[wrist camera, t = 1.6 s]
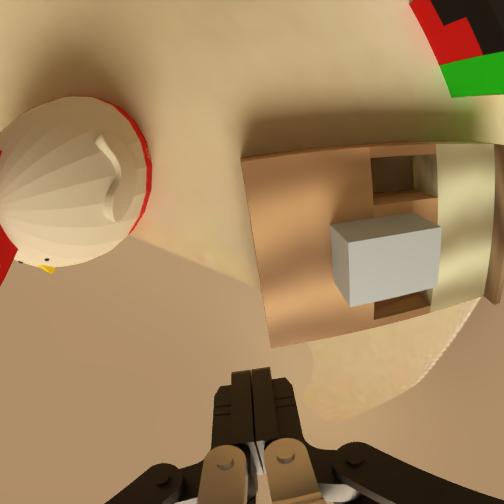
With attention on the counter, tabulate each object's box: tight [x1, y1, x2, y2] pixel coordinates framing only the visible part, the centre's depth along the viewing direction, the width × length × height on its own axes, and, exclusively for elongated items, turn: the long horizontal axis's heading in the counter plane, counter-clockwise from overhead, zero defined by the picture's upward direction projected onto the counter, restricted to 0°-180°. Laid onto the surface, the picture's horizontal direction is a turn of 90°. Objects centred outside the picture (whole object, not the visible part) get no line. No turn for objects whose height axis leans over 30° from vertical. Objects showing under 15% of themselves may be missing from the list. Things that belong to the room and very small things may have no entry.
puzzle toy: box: [409, 0, 504, 98], centre depth 16 cm, size 10×10×10 cm
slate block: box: [330, 213, 442, 307], centre depth 21 cm, size 4×7×4 cm, turn 99°
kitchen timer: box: [0, 96, 152, 286], centre depth 17 cm, size 14×14×15 cm
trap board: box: [241, 141, 504, 348], centre depth 24 cm, size 15×23×6 cm, turn 99°
